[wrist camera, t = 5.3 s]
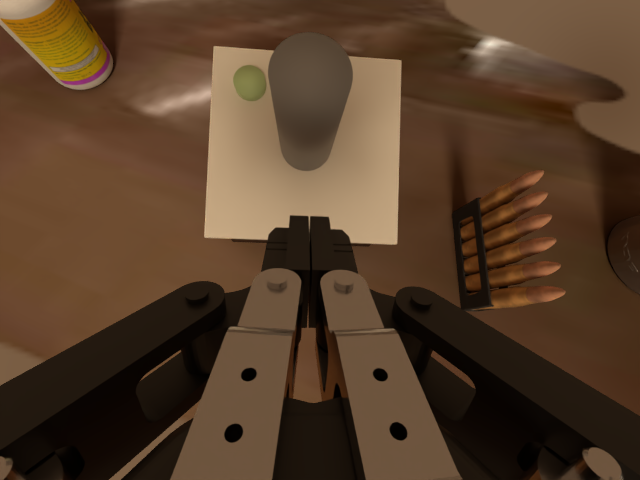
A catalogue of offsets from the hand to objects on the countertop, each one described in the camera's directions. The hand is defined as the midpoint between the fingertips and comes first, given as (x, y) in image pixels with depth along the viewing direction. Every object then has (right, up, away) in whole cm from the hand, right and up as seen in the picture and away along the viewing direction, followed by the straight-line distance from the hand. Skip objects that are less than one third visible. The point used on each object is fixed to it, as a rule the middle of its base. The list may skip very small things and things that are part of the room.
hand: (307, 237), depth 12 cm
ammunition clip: (+16, -2, +22) cm, 27 cm away
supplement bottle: (-26, +20, +24) cm, 41 cm away
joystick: (-1, +7, +14) cm, 15 cm away
